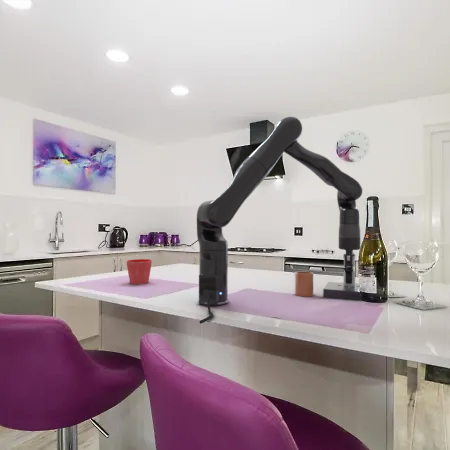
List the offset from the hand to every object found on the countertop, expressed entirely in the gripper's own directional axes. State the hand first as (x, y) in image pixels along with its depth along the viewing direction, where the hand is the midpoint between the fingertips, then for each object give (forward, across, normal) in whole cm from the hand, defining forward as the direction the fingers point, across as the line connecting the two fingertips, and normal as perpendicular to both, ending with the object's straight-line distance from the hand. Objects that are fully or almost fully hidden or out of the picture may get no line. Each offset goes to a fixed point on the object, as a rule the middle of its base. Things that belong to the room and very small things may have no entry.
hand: (349, 281), depth 121 cm
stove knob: (+1, 0, 0) cm, 1 cm away
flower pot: (+5, +12, -85) cm, 86 cm away
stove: (+4, +2, -2) cm, 5 cm away
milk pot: (+4, +8, -15) cm, 18 cm away
